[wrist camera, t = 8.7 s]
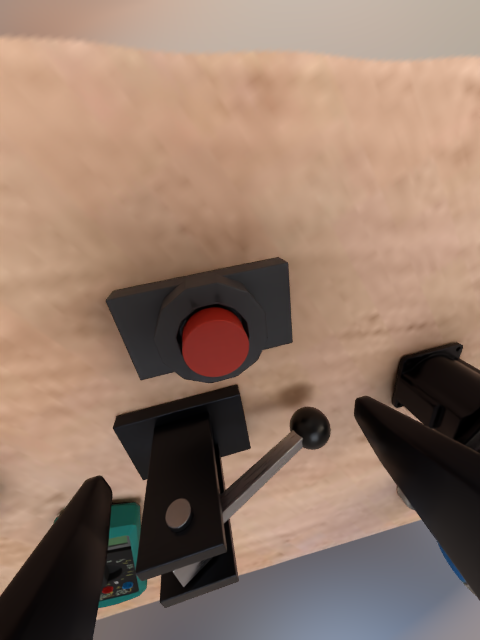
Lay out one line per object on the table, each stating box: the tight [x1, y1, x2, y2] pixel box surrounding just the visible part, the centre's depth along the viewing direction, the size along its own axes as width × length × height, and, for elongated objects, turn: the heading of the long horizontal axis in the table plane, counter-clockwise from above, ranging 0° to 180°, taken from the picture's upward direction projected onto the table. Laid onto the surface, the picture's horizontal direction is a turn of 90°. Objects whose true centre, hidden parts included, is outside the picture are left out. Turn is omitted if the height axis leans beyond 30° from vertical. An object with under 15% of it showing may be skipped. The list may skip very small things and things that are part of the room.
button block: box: [106, 257, 293, 383], centre depth 16 cm, size 11×6×4 cm, turn 99°
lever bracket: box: [113, 385, 251, 608], centre depth 17 cm, size 10×7×10 cm
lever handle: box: [173, 407, 331, 587], centre depth 17 cm, size 14×3×3 cm, turn 98°
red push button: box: [182, 307, 249, 377], centre depth 14 cm, size 4×4×2 cm
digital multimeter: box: [54, 502, 147, 608], centre depth 25 cm, size 7×15×3 cm, turn 174°
